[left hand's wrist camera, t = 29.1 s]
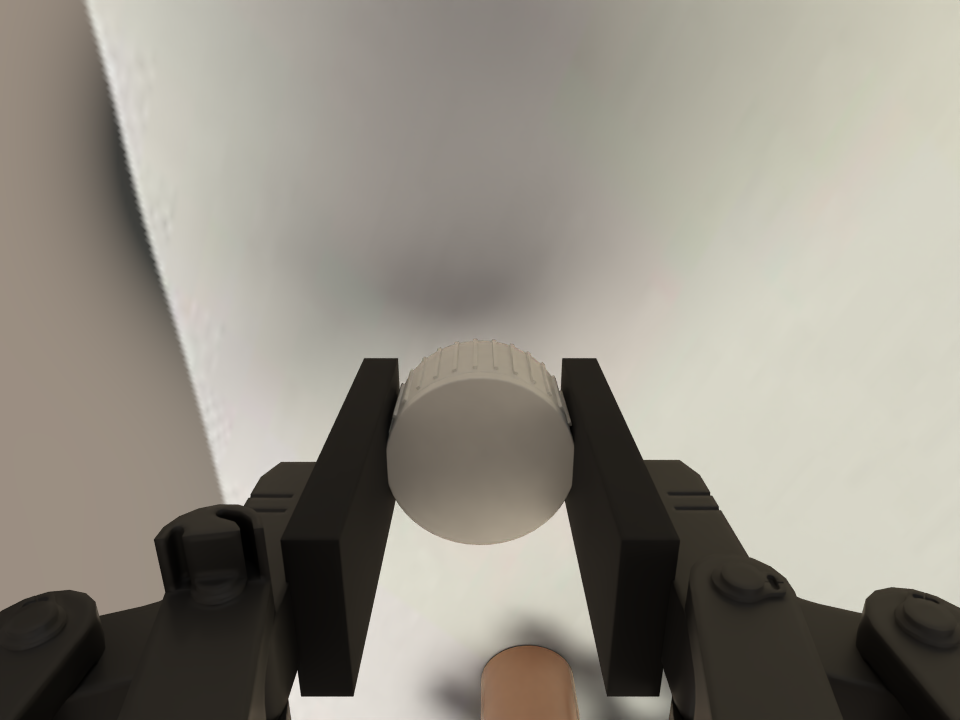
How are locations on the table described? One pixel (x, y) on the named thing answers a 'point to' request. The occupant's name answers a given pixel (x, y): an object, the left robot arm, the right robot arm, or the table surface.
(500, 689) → the bottle
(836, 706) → the left robot arm
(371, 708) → the table surface
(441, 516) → the cap
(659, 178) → the table surface
